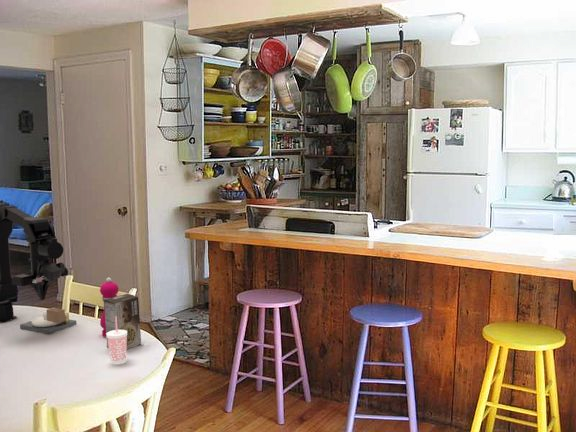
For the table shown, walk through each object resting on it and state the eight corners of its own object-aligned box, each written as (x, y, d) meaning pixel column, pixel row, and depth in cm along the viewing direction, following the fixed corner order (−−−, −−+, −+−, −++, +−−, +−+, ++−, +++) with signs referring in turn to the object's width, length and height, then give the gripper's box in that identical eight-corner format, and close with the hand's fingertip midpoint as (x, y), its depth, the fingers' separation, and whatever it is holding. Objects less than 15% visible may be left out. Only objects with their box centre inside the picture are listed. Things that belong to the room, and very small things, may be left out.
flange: (48, 329, 208) (47, 314, 208) (25, 324, 215) (23, 309, 214) (74, 320, 218) (73, 306, 217) (51, 315, 224) (50, 302, 224)
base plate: (20, 328, 215) (19, 324, 215) (47, 319, 226) (47, 315, 226) (49, 334, 208) (49, 330, 208) (76, 324, 219) (76, 320, 219)
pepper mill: (99, 333, 209) (96, 276, 206) (120, 330, 212) (117, 274, 209) (102, 339, 202) (99, 281, 200) (124, 336, 205) (121, 278, 203)
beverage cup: (107, 366, 178) (104, 320, 176) (108, 359, 184) (105, 314, 182) (129, 364, 180) (126, 318, 178) (128, 356, 186) (126, 312, 184)
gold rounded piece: (62, 323, 216) (61, 313, 215) (66, 321, 218) (65, 312, 217) (66, 324, 215) (65, 314, 214) (70, 322, 217) (69, 313, 216)
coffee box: (129, 340, 201) (127, 293, 199) (141, 344, 197) (139, 296, 195) (106, 348, 194) (103, 299, 192) (118, 352, 190) (115, 302, 188)
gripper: (30, 263, 194) (33, 310, 196) (77, 253, 210) (80, 296, 212) (9, 259, 200) (12, 305, 202) (56, 250, 216) (59, 292, 218)
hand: (42, 300), depth 209 cm, fingers closed
